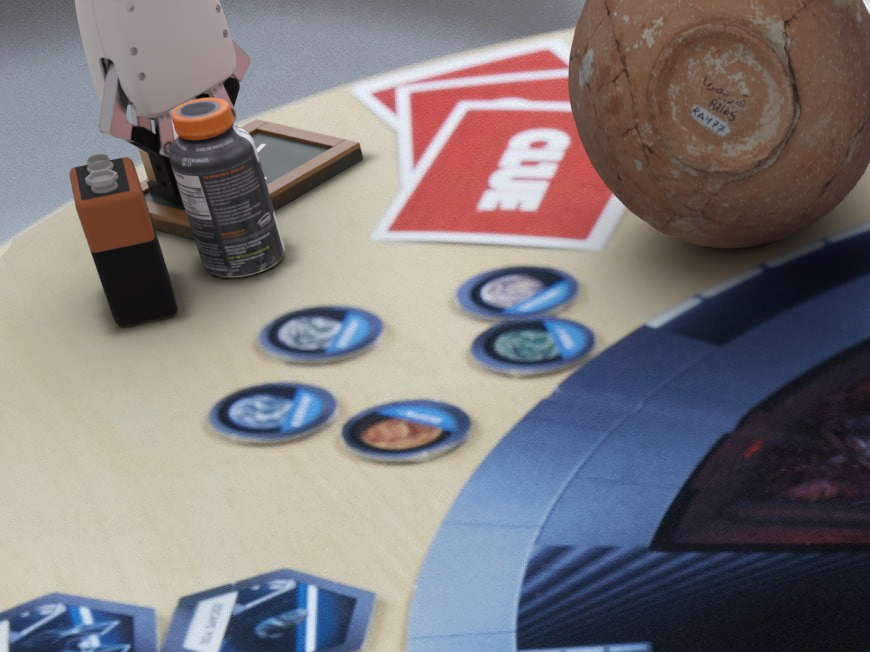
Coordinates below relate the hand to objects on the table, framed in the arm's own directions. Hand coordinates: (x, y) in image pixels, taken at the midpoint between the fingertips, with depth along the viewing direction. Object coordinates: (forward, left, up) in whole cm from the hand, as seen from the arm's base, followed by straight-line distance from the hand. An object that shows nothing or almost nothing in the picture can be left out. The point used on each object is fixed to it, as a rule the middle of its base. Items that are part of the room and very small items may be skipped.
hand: (204, 186), depth 179 cm
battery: (+7, -14, -2) cm, 16 cm away
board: (0, +3, -1) cm, 3 cm away
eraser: (0, 0, 0) cm, 0 cm away
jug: (+47, +5, +12) cm, 48 cm away
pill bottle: (+9, -6, -2) cm, 11 cm away
